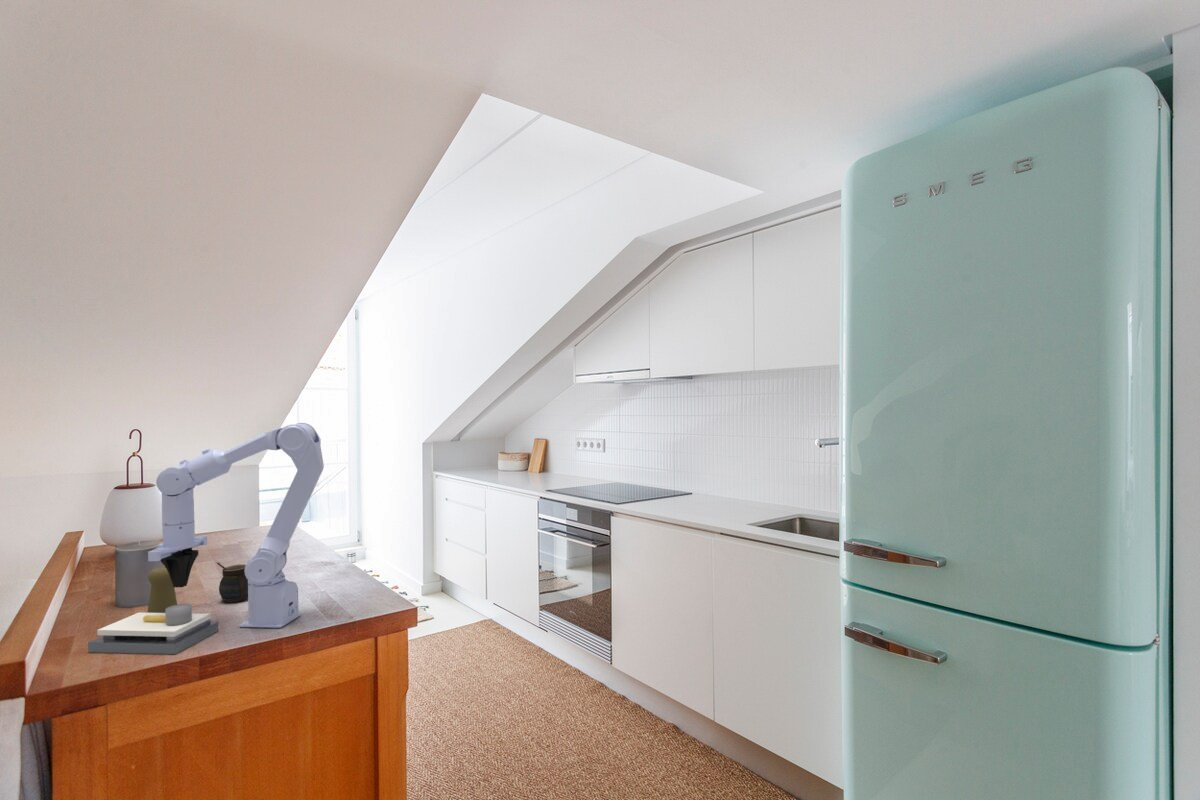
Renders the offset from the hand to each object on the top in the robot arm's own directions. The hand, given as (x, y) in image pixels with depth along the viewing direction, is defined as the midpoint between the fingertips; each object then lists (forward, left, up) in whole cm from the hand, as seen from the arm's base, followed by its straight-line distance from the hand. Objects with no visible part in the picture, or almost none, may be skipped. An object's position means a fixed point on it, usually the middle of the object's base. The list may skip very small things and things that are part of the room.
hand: (180, 586), depth 134 cm
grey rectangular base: (0, +7, -9) cm, 11 cm away
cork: (+10, -7, -9) cm, 15 cm away
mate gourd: (+1, -19, -9) cm, 21 cm away
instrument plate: (0, +7, -6) cm, 9 cm away
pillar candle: (+24, -17, -9) cm, 31 cm away
